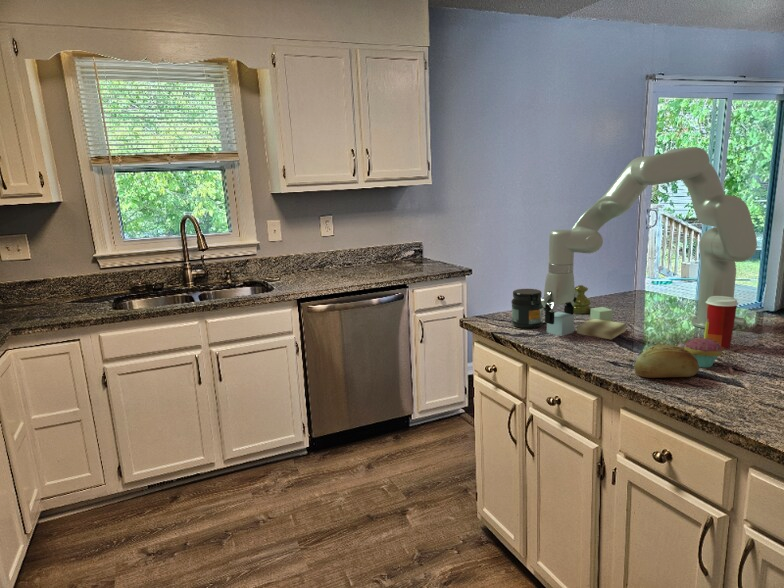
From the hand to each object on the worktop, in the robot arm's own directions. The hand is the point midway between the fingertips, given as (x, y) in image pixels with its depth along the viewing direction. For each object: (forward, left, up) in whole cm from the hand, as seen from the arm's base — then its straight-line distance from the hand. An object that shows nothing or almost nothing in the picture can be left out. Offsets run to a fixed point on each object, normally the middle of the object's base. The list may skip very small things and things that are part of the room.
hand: (559, 320), depth 167 cm
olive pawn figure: (+11, -26, -4) cm, 29 cm away
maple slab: (-9, -9, -5) cm, 14 cm away
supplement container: (+13, +1, -4) cm, 13 cm away
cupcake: (-43, -2, -4) cm, 44 cm away
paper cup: (-39, -20, -4) cm, 44 cm away
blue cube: (0, 0, -4) cm, 4 cm away
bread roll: (-41, +12, -4) cm, 43 cm away
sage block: (-3, -18, -4) cm, 19 cm away
